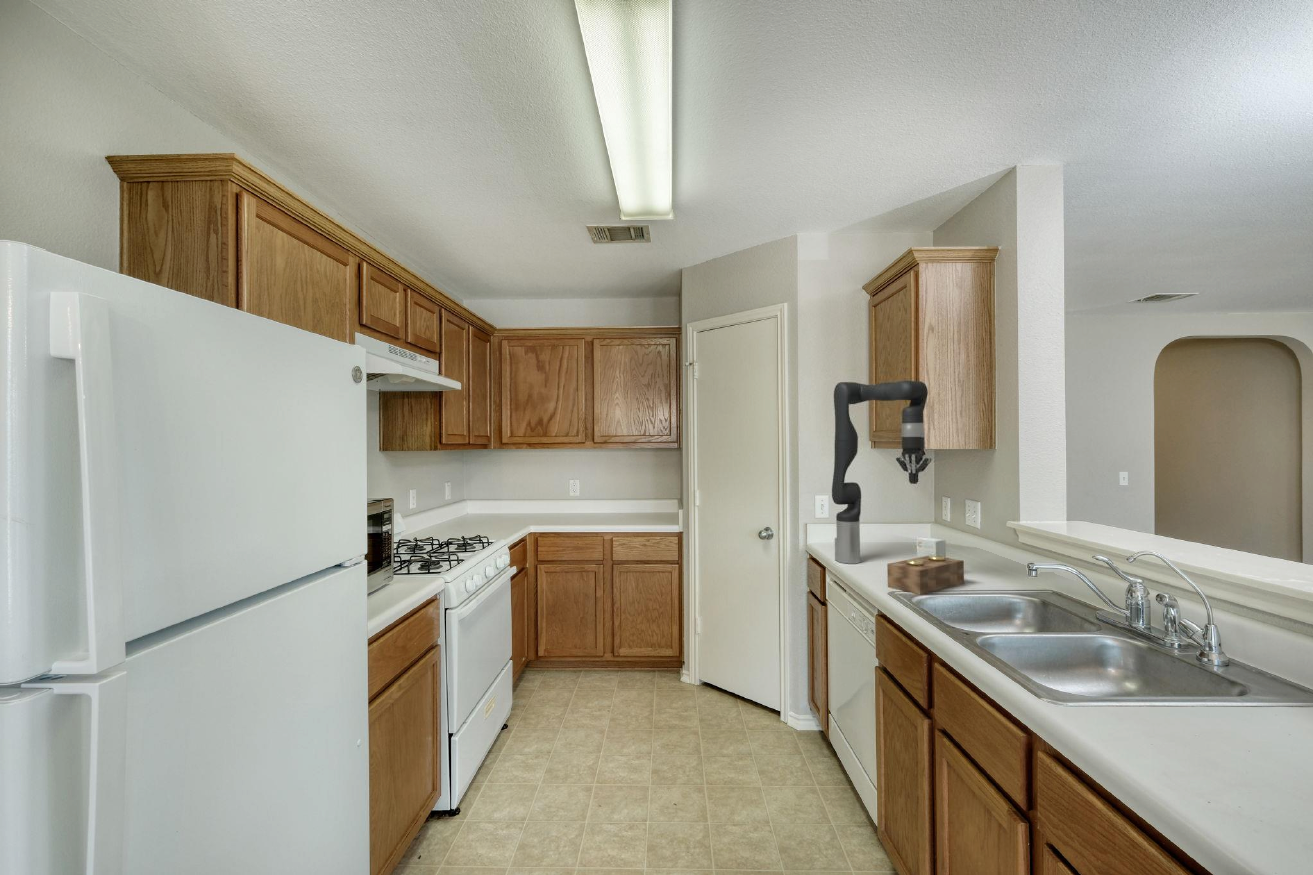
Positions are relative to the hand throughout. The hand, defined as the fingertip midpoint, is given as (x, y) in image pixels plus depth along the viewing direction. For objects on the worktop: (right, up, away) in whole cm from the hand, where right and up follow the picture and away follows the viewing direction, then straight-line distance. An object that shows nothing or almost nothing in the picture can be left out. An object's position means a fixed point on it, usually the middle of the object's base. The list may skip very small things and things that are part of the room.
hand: (913, 483), depth 196 cm
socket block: (+1, -35, -7) cm, 36 cm away
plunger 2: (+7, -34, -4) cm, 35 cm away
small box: (+12, -35, +10) cm, 38 cm away
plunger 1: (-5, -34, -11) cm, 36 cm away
